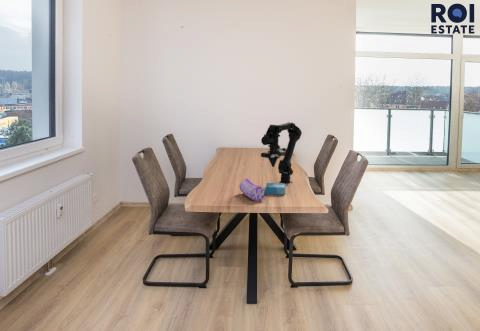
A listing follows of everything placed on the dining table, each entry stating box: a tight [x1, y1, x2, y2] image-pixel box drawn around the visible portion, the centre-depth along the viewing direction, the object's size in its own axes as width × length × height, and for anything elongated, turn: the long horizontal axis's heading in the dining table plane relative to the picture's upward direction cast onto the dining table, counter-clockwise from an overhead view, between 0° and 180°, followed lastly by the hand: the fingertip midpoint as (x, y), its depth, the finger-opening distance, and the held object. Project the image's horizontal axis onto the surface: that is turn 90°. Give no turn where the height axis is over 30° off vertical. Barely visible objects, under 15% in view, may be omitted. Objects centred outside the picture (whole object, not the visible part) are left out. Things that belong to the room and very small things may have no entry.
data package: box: [265, 182, 286, 196], centre depth 279 cm, size 12×4×12 cm
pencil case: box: [238, 177, 267, 202], centre depth 265 cm, size 22×9×10 cm, turn 23°
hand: (273, 166), depth 295 cm, fingers closed
